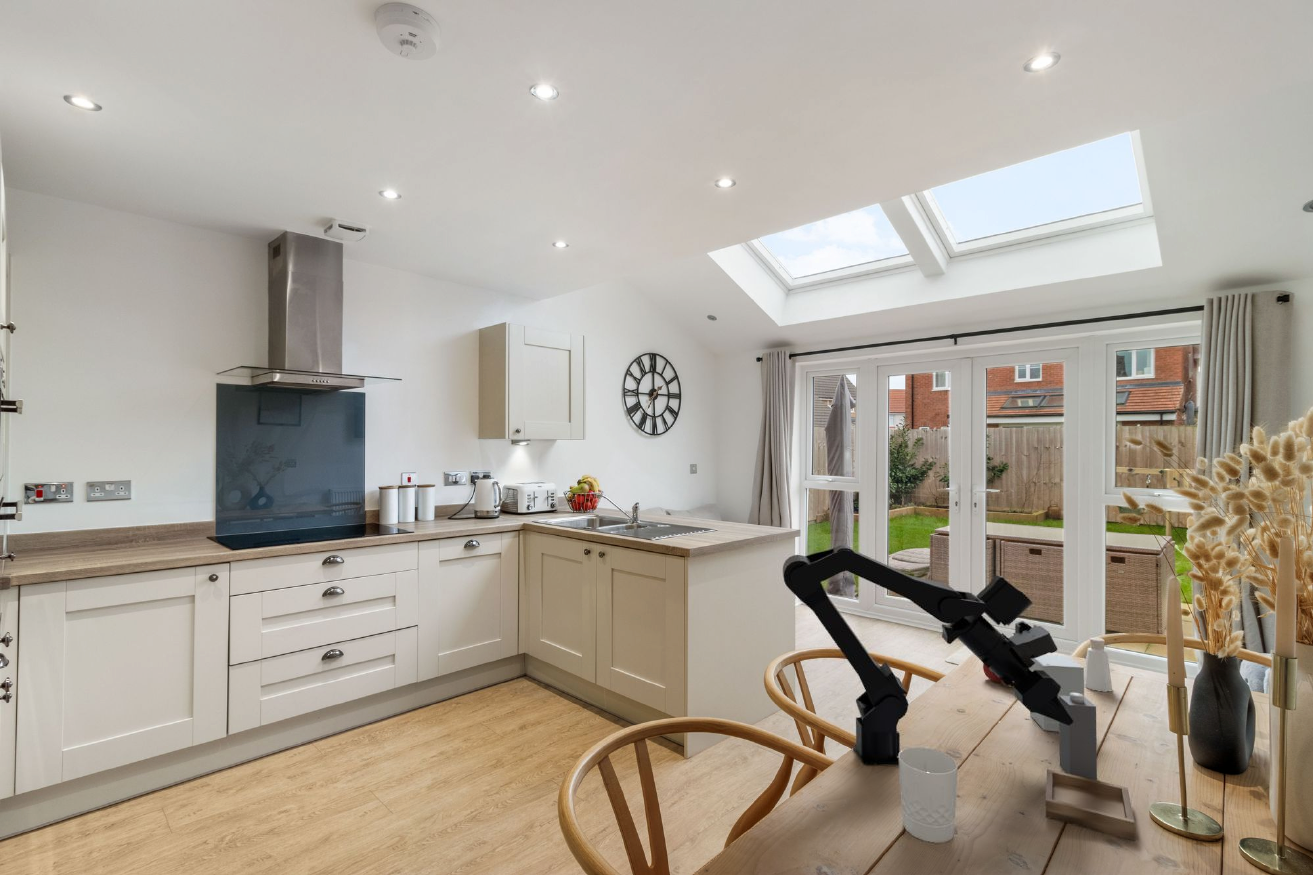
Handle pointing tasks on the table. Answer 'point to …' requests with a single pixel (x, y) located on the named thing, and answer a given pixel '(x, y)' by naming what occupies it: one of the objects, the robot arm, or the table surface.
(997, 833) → the table surface
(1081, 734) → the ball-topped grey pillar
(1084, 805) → the wooden tray
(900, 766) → the white cup
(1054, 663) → the supplement box
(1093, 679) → the pepper shaker
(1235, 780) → the table surface
